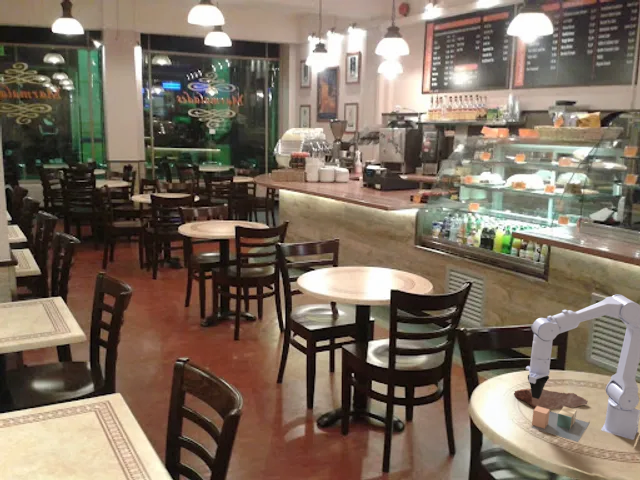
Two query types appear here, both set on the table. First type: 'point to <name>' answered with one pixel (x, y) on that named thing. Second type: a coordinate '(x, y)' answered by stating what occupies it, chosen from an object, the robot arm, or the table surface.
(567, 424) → the beech block
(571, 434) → the slate board
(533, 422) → the terracotta block
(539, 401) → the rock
